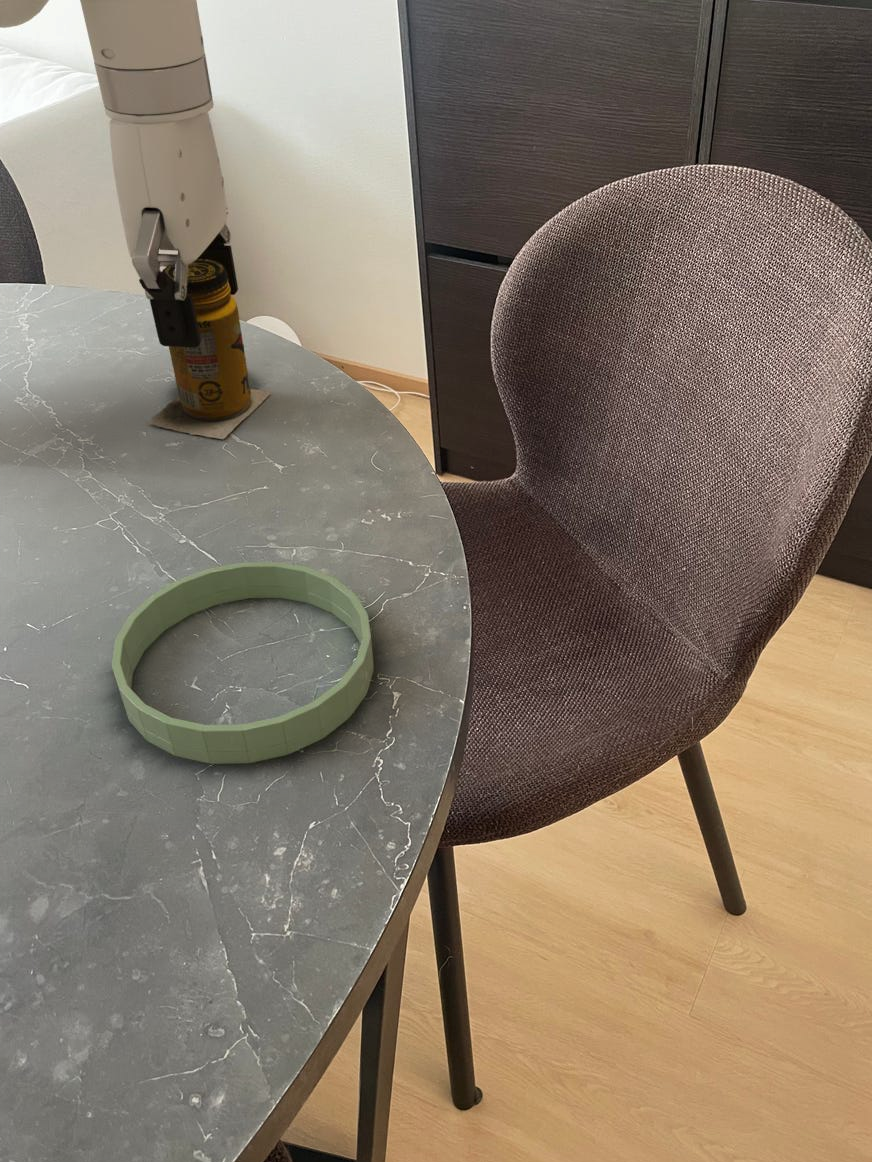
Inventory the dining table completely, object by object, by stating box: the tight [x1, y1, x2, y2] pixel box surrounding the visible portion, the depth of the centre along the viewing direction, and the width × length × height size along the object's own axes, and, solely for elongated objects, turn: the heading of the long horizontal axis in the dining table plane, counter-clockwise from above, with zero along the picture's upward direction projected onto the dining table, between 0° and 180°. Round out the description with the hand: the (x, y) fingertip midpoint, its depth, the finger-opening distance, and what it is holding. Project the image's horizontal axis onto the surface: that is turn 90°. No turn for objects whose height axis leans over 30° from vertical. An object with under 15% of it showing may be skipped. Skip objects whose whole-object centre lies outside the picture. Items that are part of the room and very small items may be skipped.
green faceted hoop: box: [111, 561, 375, 765], centre depth 63 cm, size 15×15×4 cm
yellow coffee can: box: [146, 259, 272, 440], centre depth 86 cm, size 7×8×12 cm
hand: (201, 317), depth 85 cm, fingers open, 9 cm apart
